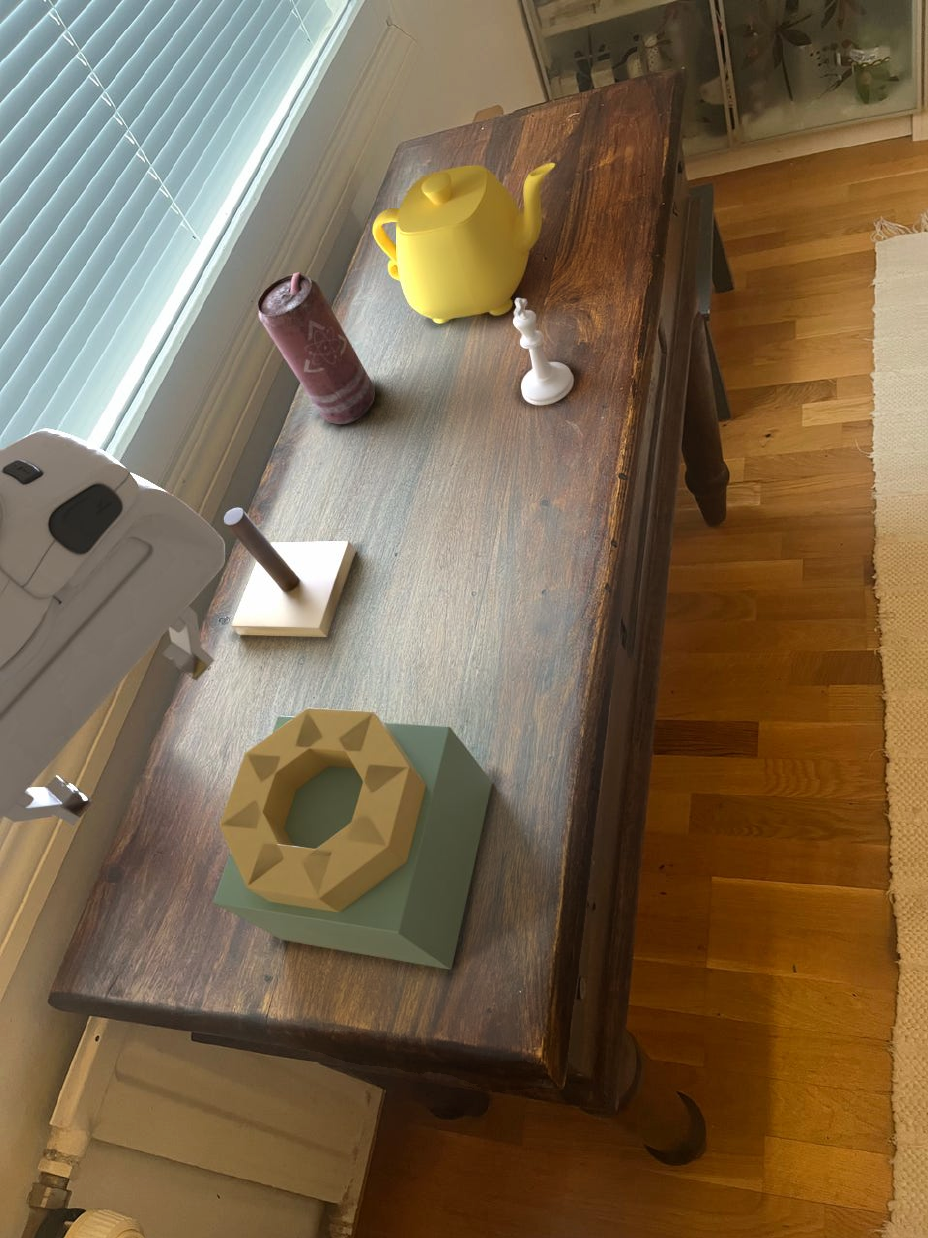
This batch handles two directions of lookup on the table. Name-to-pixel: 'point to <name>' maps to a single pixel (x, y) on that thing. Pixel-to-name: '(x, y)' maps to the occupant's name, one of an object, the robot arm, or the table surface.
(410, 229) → the teapot
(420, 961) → the plinth
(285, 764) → the brass ring
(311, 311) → the can
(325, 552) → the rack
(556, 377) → the chess piece
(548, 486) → the table surface
